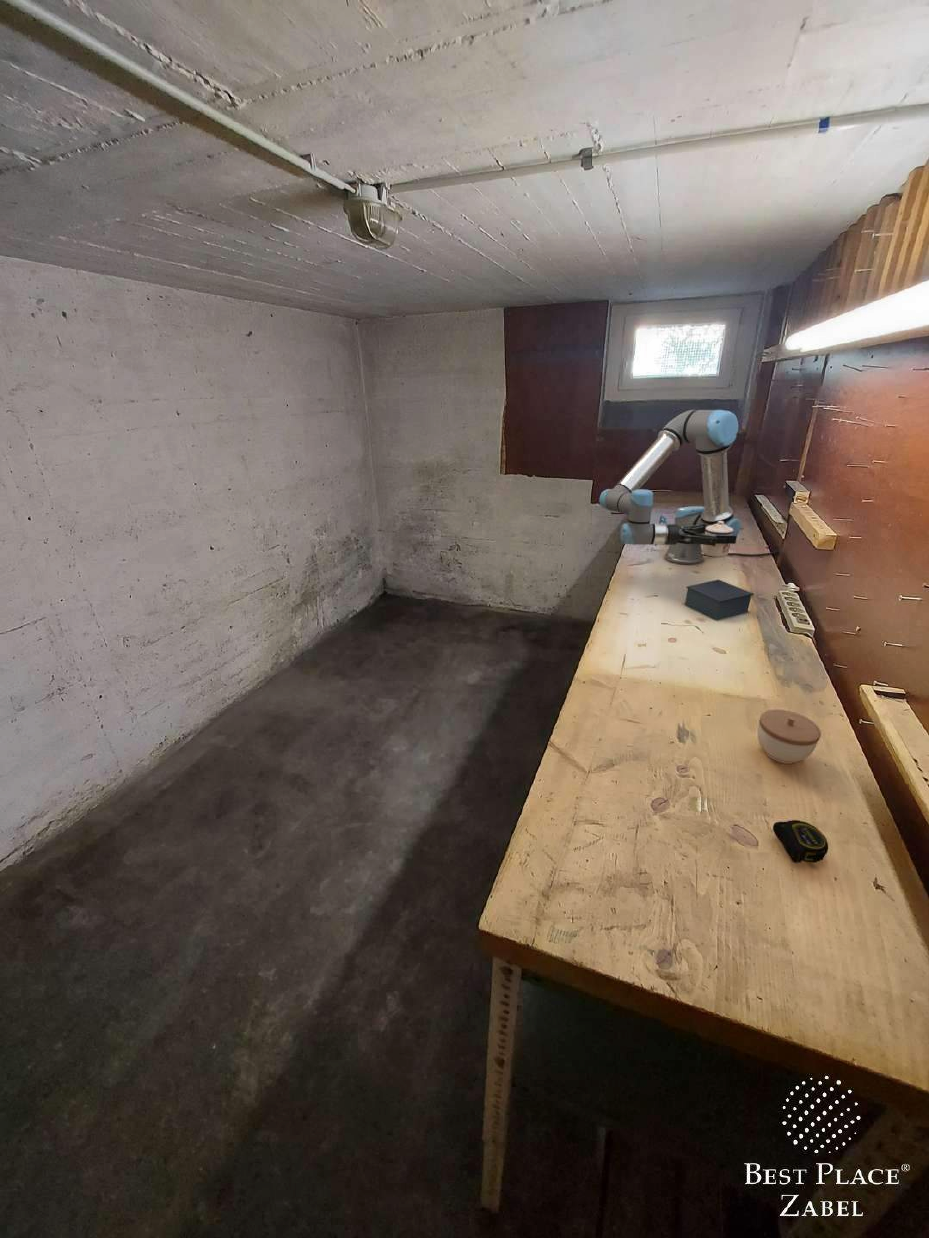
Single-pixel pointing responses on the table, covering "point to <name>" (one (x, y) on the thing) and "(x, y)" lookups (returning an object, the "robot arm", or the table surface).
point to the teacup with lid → (718, 549)
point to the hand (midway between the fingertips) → (730, 534)
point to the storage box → (718, 599)
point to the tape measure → (801, 841)
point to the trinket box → (787, 735)
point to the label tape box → (663, 520)
